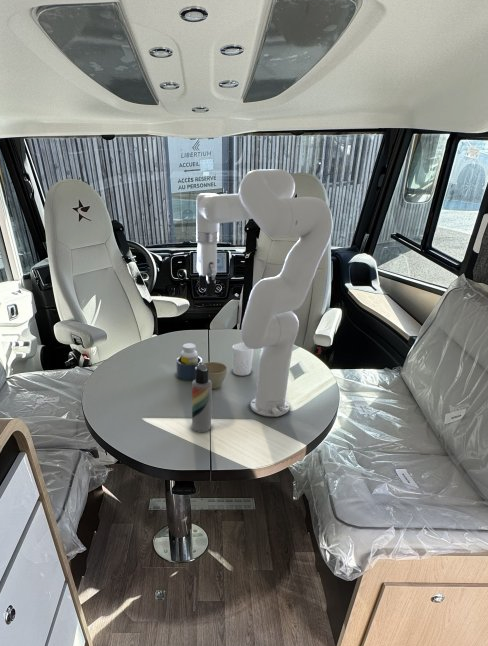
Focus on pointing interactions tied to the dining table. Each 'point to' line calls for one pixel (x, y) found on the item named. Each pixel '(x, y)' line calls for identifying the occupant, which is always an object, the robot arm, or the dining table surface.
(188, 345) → the pill bottle
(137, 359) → the dining table surface
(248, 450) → the dining table surface
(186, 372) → the canister
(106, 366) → the dining table surface
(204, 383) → the lotion bottle
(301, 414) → the dining table surface
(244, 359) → the white cup
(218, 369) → the flower pot
